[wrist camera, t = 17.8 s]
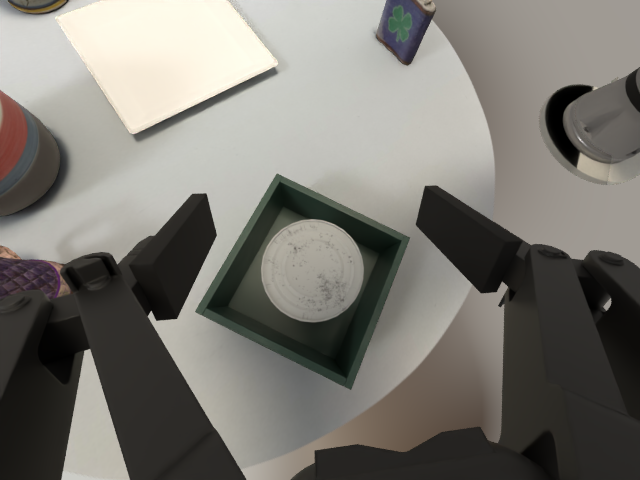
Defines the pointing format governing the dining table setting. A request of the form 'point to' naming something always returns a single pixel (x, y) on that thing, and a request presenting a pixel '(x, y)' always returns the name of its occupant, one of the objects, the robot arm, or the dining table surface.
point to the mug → (30, 276)
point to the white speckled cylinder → (312, 270)
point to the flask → (405, 26)
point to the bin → (278, 328)
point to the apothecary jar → (37, 5)
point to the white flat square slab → (164, 53)
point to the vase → (24, 157)
